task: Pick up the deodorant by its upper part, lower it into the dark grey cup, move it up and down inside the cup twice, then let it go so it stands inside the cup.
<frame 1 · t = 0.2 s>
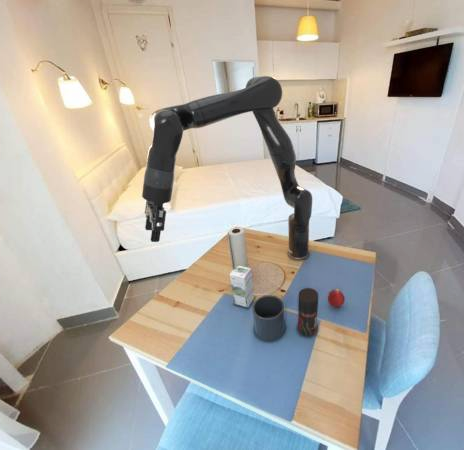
hand: (151, 235, 76), 31 cm above the table, tool tilted 20°, fingers open, 8 cm apart
onion: (335, 306, 90), on the table
paper towel roll: (240, 274, 107), on the table
syrup box: (244, 301, 93), on the table
dark grey cup: (269, 328, 83), on the table
deodorant: (307, 328, 82), on the table
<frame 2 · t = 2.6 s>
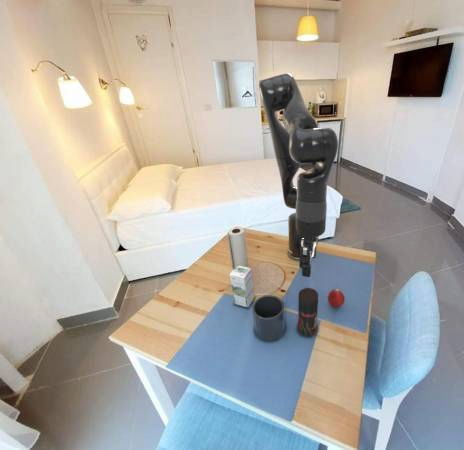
hand: (309, 266, 70), 26 cm above the table, tool pointing down, fingers open, 8 cm apart
nothing on the table moved.
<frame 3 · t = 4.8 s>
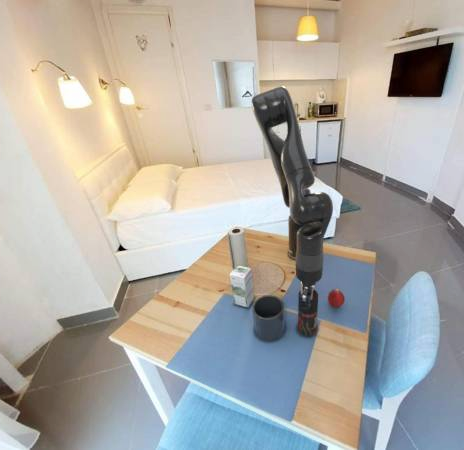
hand: (307, 305, 77), 11 cm above the table, tool pointing down, fingers closed on deodorant, 6 cm apart
deodorant: (307, 328, 82), on the table, touching gripper
everything else where it was.
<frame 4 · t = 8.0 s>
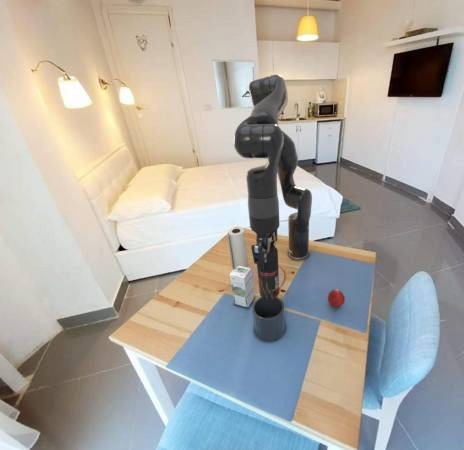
hand: (267, 264, 70), 27 cm above the table, tool pointing down, fingers closed on deodorant, 6 cm apart
deodorant: (269, 292, 75), point 16 cm above the table, touching gripper
everything else where it was.
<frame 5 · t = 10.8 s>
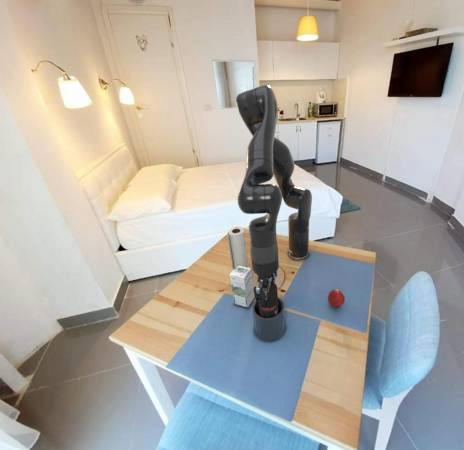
hand: (268, 298, 76), 13 cm above the table, tool pointing down, fingers closed on deodorant, 6 cm apart
deodorant: (269, 322, 82), point 2 cm above the table, touching gripper
everything else where it was.
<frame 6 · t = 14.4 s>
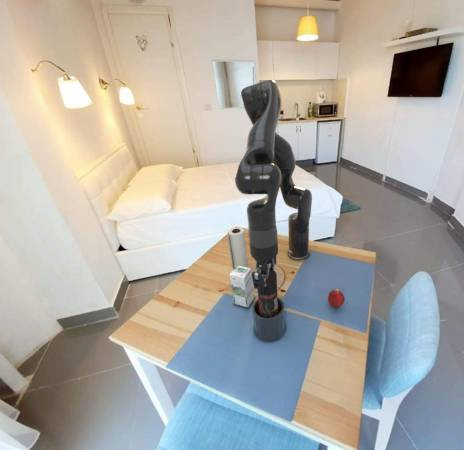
hand: (267, 286, 74), 18 cm above the table, tool pointing down, fingers closed on deodorant, 6 cm apart
deodorant: (269, 312, 79), point 7 cm above the table, touching gripper
everything else where it was.
when the fingers open (11 cm above the table, at t = 17.0 s): deodorant stays where it is, resting on dark grey cup.
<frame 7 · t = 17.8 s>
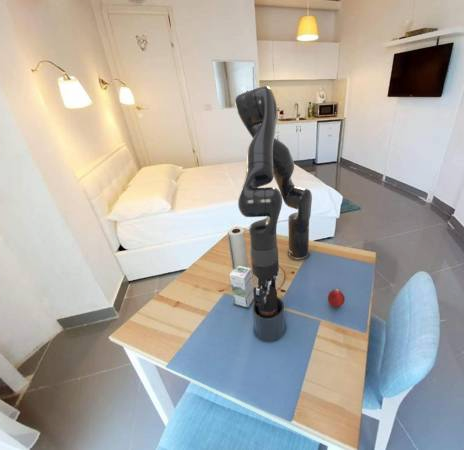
hand: (267, 300, 76), 13 cm above the table, tool pointing down, fingers open, 8 cm apart
deodorant: (269, 326, 82), point 1 cm above the table, touching dark grey cup
everything else where it was.
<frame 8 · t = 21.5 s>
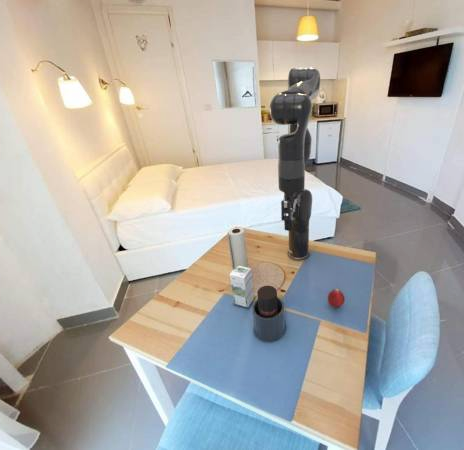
hand: (291, 223, 79), 32 cm above the table, tool pointing down, fingers open, 8 cm apart
nothing on the table moved.
at the end: deodorant 0.1 cm off-centre in the dark grey cup, point 0.6 cm above the dark grey cup's base; deodorant tilted 0°; the gripper is holding nothing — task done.
